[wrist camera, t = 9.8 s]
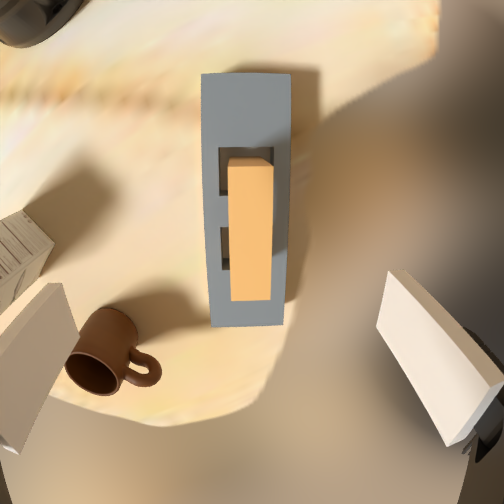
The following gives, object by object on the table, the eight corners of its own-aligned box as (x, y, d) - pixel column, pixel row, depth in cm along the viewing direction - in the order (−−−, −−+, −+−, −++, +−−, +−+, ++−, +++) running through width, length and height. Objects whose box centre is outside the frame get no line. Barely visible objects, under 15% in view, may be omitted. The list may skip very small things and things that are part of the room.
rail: (205, 81, 26) (201, 73, 23) (283, 81, 27) (290, 74, 23) (213, 308, 36) (211, 327, 32) (278, 306, 37) (283, 324, 33)
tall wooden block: (229, 156, 29) (227, 166, 19) (260, 156, 29) (273, 166, 19) (231, 250, 32) (231, 301, 23) (259, 249, 33) (270, 300, 23)
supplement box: (38, 279, 33) (-12, 330, 22) (6, 245, 31) (-50, 286, 19) (57, 243, 32) (-1, 290, 20) (22, 207, 29) (-42, 240, 18)
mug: (170, 315, 36) (156, 366, 28) (171, 358, 39) (159, 409, 30) (86, 301, 35) (56, 344, 26) (93, 344, 38) (70, 388, 29)
